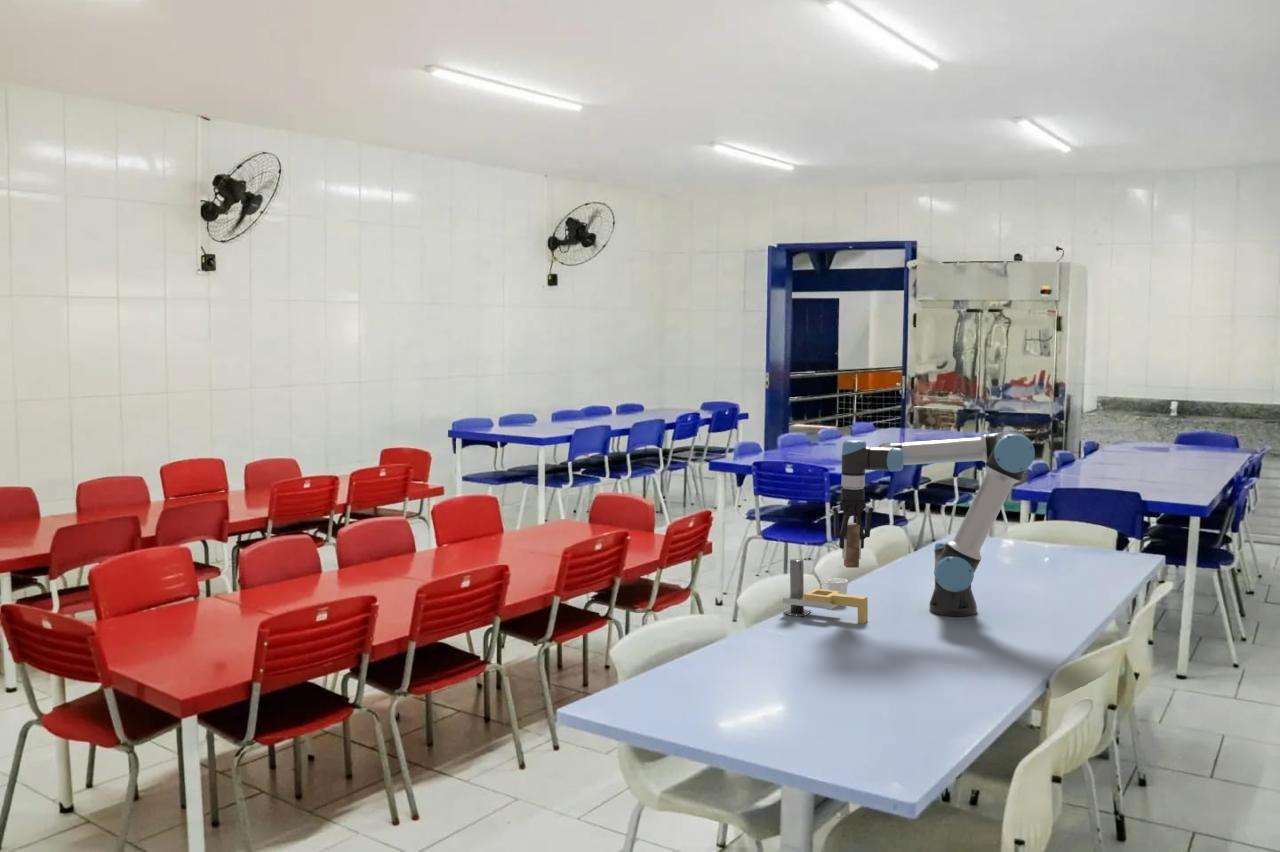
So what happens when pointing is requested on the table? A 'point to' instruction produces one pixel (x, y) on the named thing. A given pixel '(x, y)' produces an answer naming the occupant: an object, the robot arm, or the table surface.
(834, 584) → the cup
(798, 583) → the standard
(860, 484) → the robot arm
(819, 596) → the bracket
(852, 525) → the pin
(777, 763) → the table surface
